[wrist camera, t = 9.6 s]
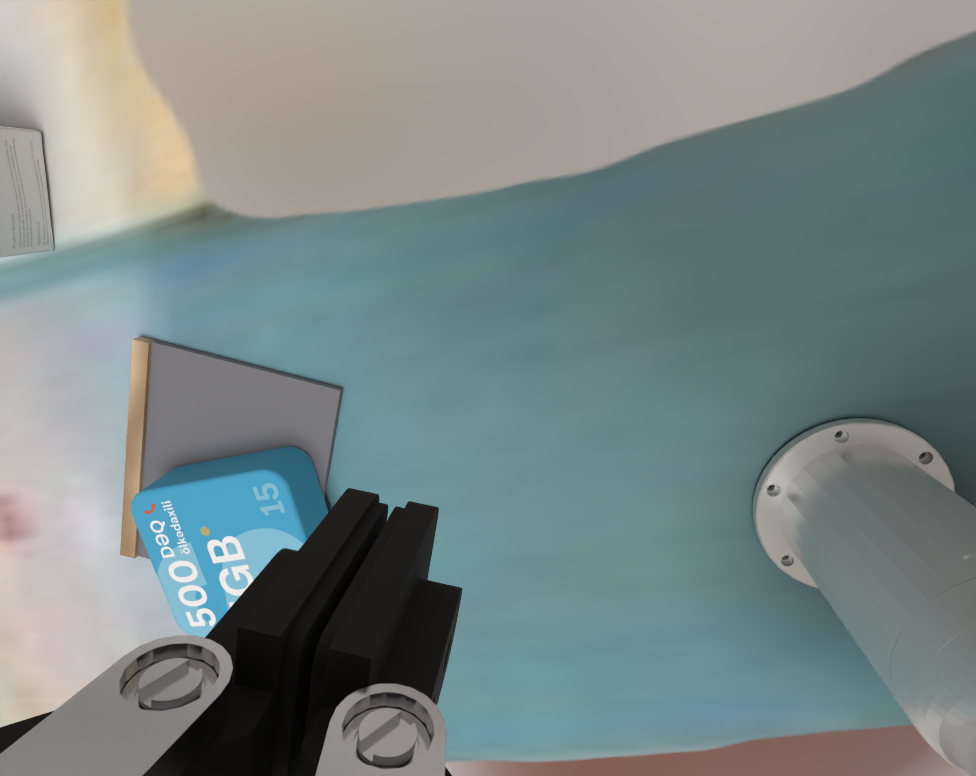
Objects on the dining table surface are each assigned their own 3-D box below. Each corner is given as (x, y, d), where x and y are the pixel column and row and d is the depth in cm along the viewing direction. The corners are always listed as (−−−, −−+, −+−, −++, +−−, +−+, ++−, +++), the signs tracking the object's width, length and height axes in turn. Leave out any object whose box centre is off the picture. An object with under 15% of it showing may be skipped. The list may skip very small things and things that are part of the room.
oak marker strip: (157, 340, 45) (148, 343, 44) (142, 551, 50) (134, 558, 49) (141, 336, 45) (132, 339, 44) (128, 547, 50) (120, 554, 49)
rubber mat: (343, 388, 44) (340, 390, 43) (308, 596, 49) (305, 600, 49) (157, 340, 45) (152, 342, 44) (142, 551, 50) (137, 555, 49)
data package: (332, 620, 44) (182, 640, 46) (352, 583, 48) (214, 603, 50) (280, 466, 41) (121, 495, 42) (307, 441, 45) (161, 468, 47)
